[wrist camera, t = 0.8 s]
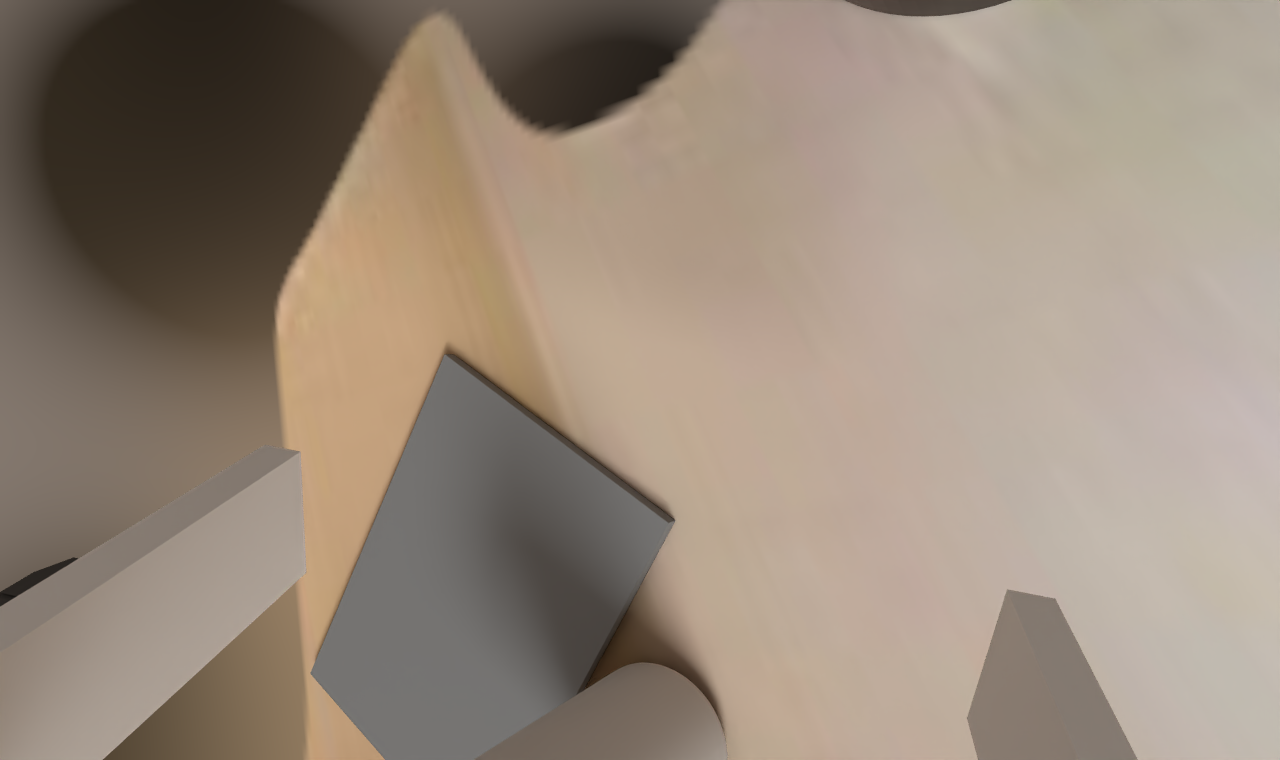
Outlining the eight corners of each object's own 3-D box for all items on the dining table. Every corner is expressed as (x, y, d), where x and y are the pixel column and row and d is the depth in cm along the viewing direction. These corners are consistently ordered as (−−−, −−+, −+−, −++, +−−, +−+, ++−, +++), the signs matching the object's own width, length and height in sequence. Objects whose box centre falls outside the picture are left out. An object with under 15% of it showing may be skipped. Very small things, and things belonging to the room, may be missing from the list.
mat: (453, 354, 38) (444, 354, 38) (675, 520, 32) (668, 523, 32) (319, 669, 43) (310, 673, 43) (489, 863, 37) (481, 870, 37)
